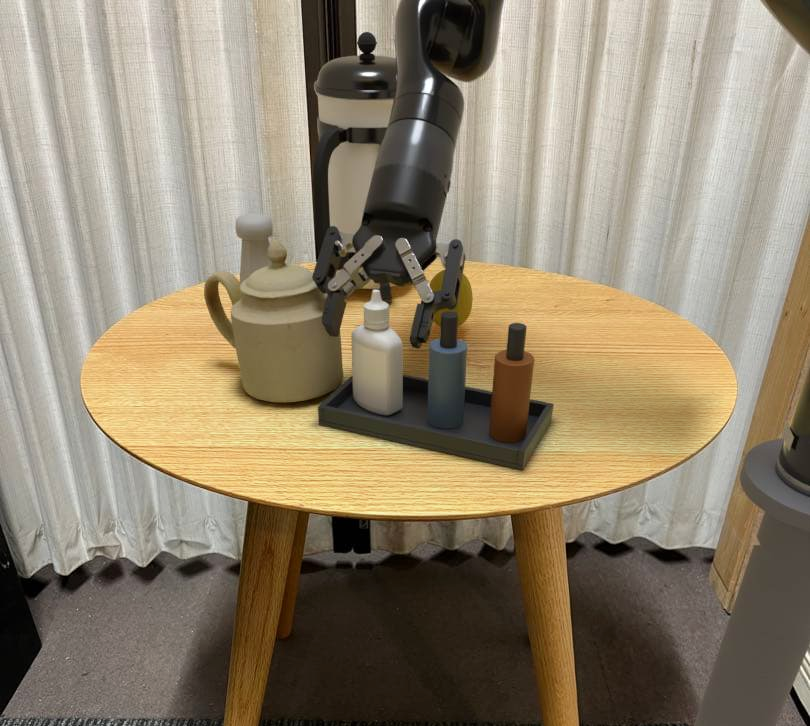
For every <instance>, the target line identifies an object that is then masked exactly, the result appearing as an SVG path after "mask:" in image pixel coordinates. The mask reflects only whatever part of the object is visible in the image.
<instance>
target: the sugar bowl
mask: <svg viewBox="0 0 810 726" xmlns="http://www.w3.org/2000/svg"><path fill="white" fill-rule="evenodd" d="M268 258H269V259H270V261H271V262H272V265H270V266H267V267H263V268H261V269H259V270H257V271H255V272H254V273H252V274H251V275H250V276H249V278H247V279H245V280H244V281H243V282H242V283H241V284H240V280H239V279H238V278H237V277H236V276H235V275H234V274H233V273H231V272H229V271H226V270H217V271H215V272H213V273H211V274H210V275H209V276H208V277H207V279H206V281H205V283H204V287H203V296H204V302H205V304H206V308H207V311H208V313H209V316H210V318H211V320H212V322H213V324H214V326H215V327H216V329H217V331H218V332H219V333H220V334H221V336H222V337H223V338H224V339H225V340H226V341H227V343H228V344H229V345H231V347H232V348H234V349H235V352H236V353H235V354H236V358H237V362H238V363H237V364H238V369H239V373H240V378H241V379H240V380H241V385H242V387H243V390H244V391H245V392H246V393H247V395H249V396H250V397H252V398H254V399H256V400H261V401H265V402H272V403H294V402H295V403H296V402H302V401H303V402H304V401H308V400H309V401H310V400H313V399H315V398H320V397H322V396H325V395H327V394H328V393H332V392H333V391H335V390H336V389H338V388H339V387H340V386H341V385H342V382H343V380H344V367H343V350H342V336H341V335H342V334H341V330H340V331H339V335H338V337H334V336H330V335H329V334H328V333H327V331H326V330H325V327H324V325H323V324H322V315H323V311H324V307H325V303H326V299H327V294H324V293H322V292H321V291H320V289H319V288H318V287H317V285H316V284H315V282H314V281H313V279H312V276H313V273H314V272H313V271H311V270H310V269H309V268H308V267H305V266H302V265H300V264H299V265H298V264H294V263H293V264H292V263H286V260H287V258H288V251H287V249H286V247H285V245H284V244H283V243H282V242H281V240H279V239H277V238H274V239H273V240H272V241H271V242H270V246H269V248H268ZM219 283H220V284H221V286H223V287H224V288H225V290H226V293H227V294H228V297H229V300H230V302H231V309H230V312H229V313H230V319H231V320H230V319H229V318H228V316H227V314H226V312H225V310H224V307H223V304H222V301H221V297H220V294H219Z"/></svg>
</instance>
